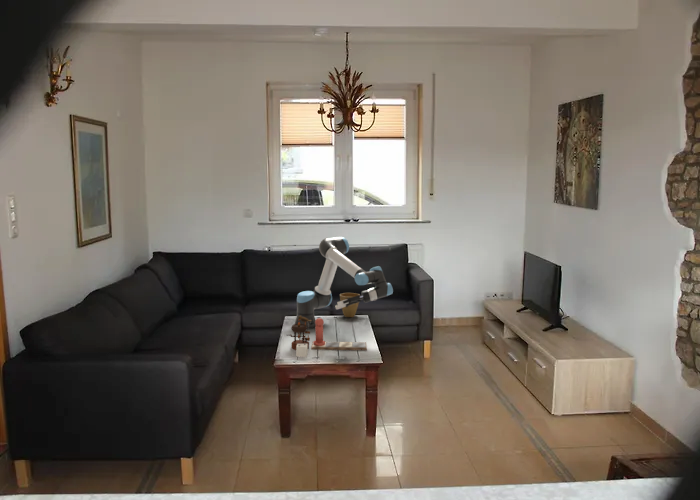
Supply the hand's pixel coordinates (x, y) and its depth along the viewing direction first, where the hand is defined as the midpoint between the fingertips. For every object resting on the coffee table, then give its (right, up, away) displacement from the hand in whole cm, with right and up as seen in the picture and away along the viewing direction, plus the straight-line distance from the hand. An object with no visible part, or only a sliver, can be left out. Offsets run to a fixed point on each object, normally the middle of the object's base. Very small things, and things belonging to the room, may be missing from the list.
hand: (336, 306), depth 367 cm
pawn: (-10, -22, -9) cm, 26 cm away
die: (-19, -26, -26) cm, 41 cm away
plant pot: (+8, -14, +68) cm, 69 cm away
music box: (-22, -24, -12) cm, 35 cm away
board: (+2, -24, -9) cm, 25 cm away
